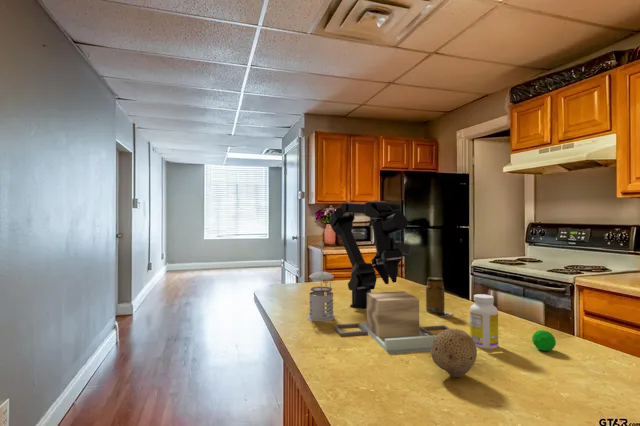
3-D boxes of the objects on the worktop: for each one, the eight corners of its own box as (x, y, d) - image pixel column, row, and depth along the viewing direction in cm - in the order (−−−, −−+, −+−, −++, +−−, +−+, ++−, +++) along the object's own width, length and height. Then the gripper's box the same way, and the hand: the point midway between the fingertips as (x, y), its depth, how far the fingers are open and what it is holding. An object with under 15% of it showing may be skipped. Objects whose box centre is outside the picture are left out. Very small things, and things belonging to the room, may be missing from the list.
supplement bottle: (496, 342, 96) (496, 294, 96) (500, 351, 90) (499, 299, 90) (469, 340, 98) (469, 292, 99) (470, 348, 92) (470, 297, 92)
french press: (301, 320, 117) (301, 242, 117) (315, 311, 127) (315, 240, 127) (330, 324, 113) (330, 243, 113) (342, 314, 124) (342, 240, 124)
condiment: (432, 309, 130) (432, 275, 130) (454, 314, 124) (454, 279, 124) (420, 312, 126) (420, 278, 126) (442, 318, 119) (442, 281, 119)
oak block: (366, 326, 109) (366, 293, 109) (404, 323, 111) (404, 291, 111) (378, 337, 99) (378, 300, 99) (419, 334, 102) (419, 298, 102)
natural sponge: (452, 390, 70) (451, 338, 70) (421, 372, 79) (421, 325, 79) (486, 381, 74) (486, 332, 74) (454, 364, 82) (454, 320, 82)
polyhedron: (527, 348, 92) (527, 329, 92) (540, 345, 94) (540, 327, 94) (546, 355, 88) (546, 335, 88) (560, 352, 90) (560, 332, 90)
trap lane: (331, 326, 111) (331, 316, 111) (429, 320, 117) (429, 310, 117) (355, 358, 86) (355, 345, 86) (476, 348, 92) (476, 336, 92)
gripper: (414, 228, 115) (424, 278, 111) (397, 239, 133) (405, 282, 129) (380, 232, 114) (389, 282, 110) (368, 242, 132) (375, 286, 128)
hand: (390, 283), depth 120 cm, fingers open, 9 cm apart
